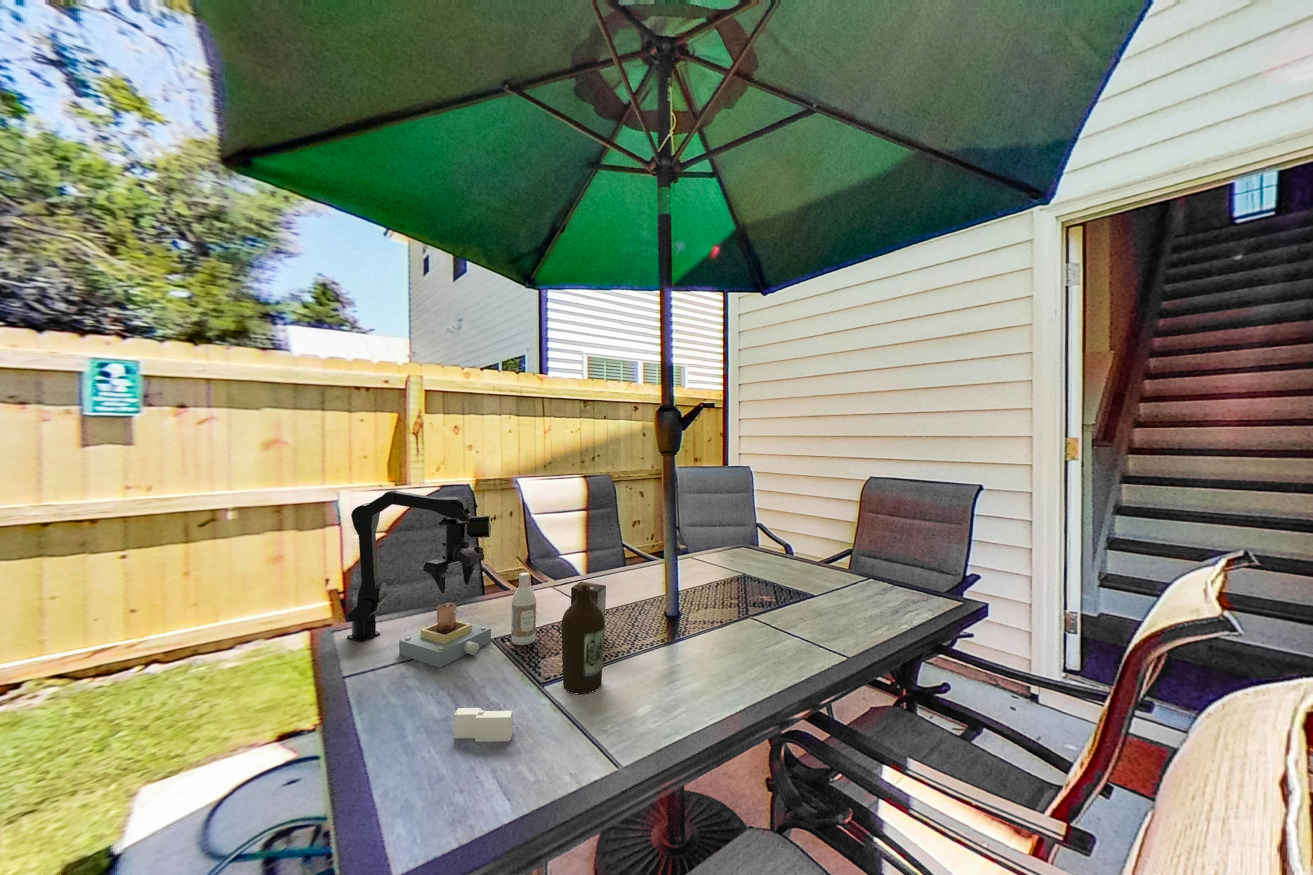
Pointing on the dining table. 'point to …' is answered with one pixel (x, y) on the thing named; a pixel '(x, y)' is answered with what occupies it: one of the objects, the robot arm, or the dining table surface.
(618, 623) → the dining table surface
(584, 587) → the olive oil
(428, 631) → the grey plate with frame
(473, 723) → the white stepped block
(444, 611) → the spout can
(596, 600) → the coffee box
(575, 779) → the dining table surface
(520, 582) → the bath foam
